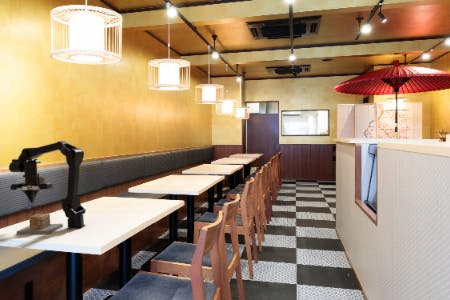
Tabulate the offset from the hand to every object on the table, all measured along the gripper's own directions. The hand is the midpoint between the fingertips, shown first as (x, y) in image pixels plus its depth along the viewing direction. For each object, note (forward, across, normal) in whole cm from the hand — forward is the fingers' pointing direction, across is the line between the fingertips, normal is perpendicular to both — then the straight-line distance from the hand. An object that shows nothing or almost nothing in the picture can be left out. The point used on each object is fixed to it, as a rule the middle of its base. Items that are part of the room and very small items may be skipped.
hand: (32, 202), depth 173 cm
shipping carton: (+11, -8, +8) cm, 15 cm away
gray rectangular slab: (+12, -8, +8) cm, 16 cm away
